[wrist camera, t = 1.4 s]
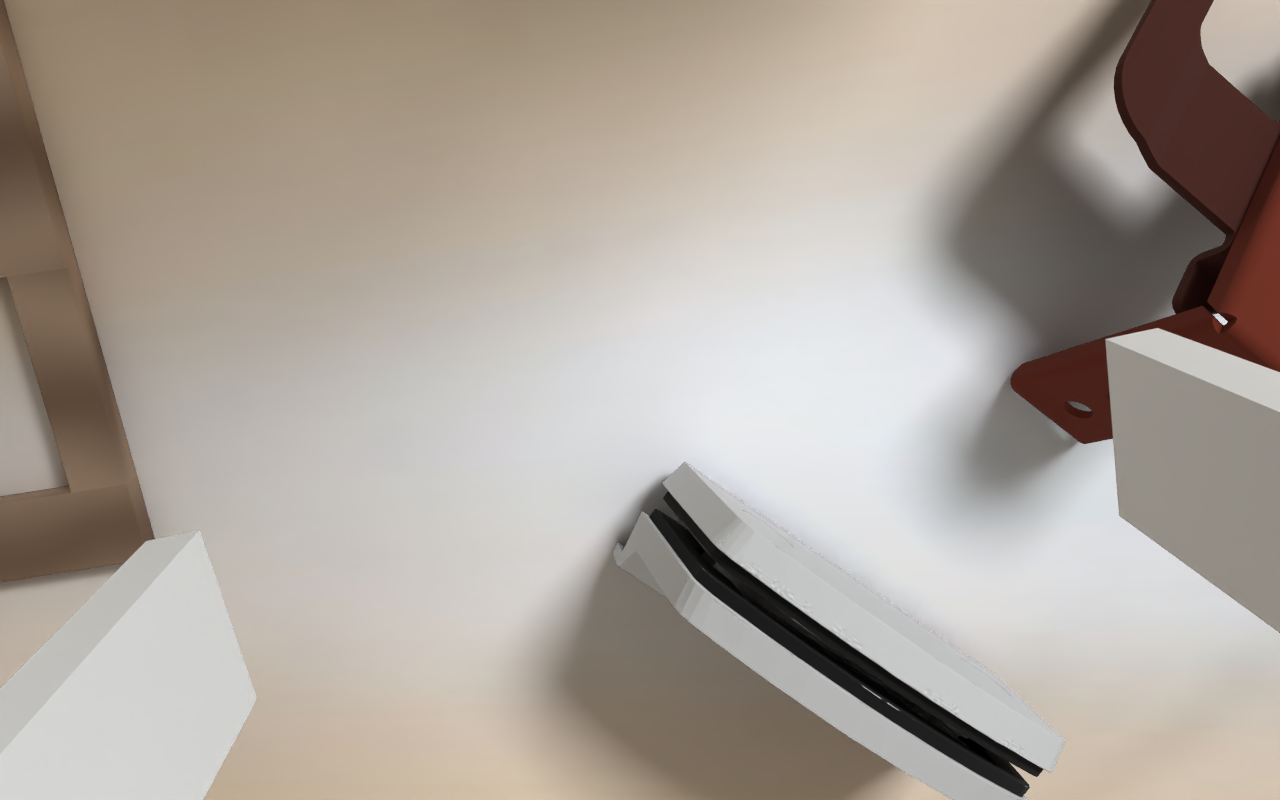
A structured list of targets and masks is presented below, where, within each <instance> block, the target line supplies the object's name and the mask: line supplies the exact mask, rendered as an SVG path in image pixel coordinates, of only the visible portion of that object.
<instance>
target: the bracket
mask: <svg viewBox="0 0 1280 800" xmlns="http://www.w3.org/2000/svg"><path fill="white" fill-rule="evenodd" d="M1213 1H1214V0H1151V2H1150V4H1149V6H1148V8H1147V9H1146V11H1145V13H1144V15H1143V17H1142V19H1141V21H1140V22H1139V24H1138V26H1137V28H1136V30H1135V32H1134V33H1133V35H1132V37H1131V39H1130V41H1129V43H1128V45H1127V46H1126V48H1125V50H1124V52H1123V54H1122V56H1121V57H1120V60H1119V62H1118V64H1117V67H1116V71H1115V76H1114V93H1115V101H1116V104H1117V108H1118V112H1119V114H1120V116H1121V119H1122V121H1123V123H1124V125H1125V127H1126V129H1127V130H1128V132H1129V134H1130V135H1131V136H1132V138H1133V139H1134V140H1135V142H1136V143H1137V145H1138V147H1139V150H1140V152H1141V154H1142V156H1143V158H1144V160H1145V161H1146V163H1147V165H1148V167H1149V168H1150V169H1151V170H1152V171H1153V172H1154V173H1155V174H1156V175H1158V176H1159V177H1160V178H1161V179H1162V180H1163V181H1165V182H1166V183H1167V184H1168V185H1169V186H1170V187H1172V188H1173V189H1174V190H1175V191H1176V192H1177V193H1178V194H1180V195H1181V196H1182V197H1183V198H1184V199H1185V200H1187V201H1188V202H1189V203H1190V204H1191V205H1192V206H1194V207H1195V208H1196V209H1197V210H1198V211H1199V212H1200V213H1202V214H1203V215H1204V216H1205V217H1206V218H1207V219H1209V220H1210V221H1211V222H1212V223H1213V224H1214V225H1216V226H1217V227H1218V228H1219V229H1220V230H1221V231H1222V232H1224V233H1225V235H1226V238H1225V241H1224V243H1223V245H1221V246H1219V247H1216V248H1214V249H1211V250H1209V251H1206V252H1203V253H1201V254H1199V255H1197V256H1196V257H1195V258H1193V259H1192V260H1191V262H1190V263H1189V265H1188V266H1187V269H1186V271H1185V273H1184V275H1183V277H1182V279H1181V281H1180V284H1179V286H1178V288H1177V290H1176V292H1175V294H1174V296H1173V299H1172V306H1173V309H1174V311H1175V313H1176V314H1175V315H1172V316H1169V317H1166V318H1163V319H1160V320H1157V321H1154V322H1151V323H1148V324H1144V325H1141V326H1138V327H1135V328H1132V329H1129V330H1126V331H1123V332H1120V333H1117V334H1113V335H1110V336H1107V337H1104V338H1101V339H1098V340H1095V341H1092V342H1089V343H1086V344H1082V345H1079V346H1076V347H1073V348H1070V349H1067V350H1064V351H1061V352H1058V353H1055V354H1051V355H1048V356H1045V357H1042V358H1039V359H1036V360H1033V361H1030V362H1027V363H1024V364H1022V365H1021V366H1020V367H1019V368H1018V369H1017V370H1016V371H1015V372H1014V374H1013V376H1012V378H1011V386H1012V388H1013V390H1014V391H1015V392H1017V393H1018V394H1019V395H1020V396H1022V397H1023V398H1024V399H1026V400H1027V401H1028V402H1029V403H1031V404H1032V405H1033V406H1034V407H1036V408H1037V409H1038V410H1040V411H1041V412H1042V413H1043V414H1045V415H1046V416H1047V417H1049V418H1050V419H1051V420H1052V421H1054V422H1055V423H1056V424H1057V425H1059V426H1060V427H1061V428H1063V429H1064V430H1065V431H1066V432H1068V433H1069V434H1070V435H1072V436H1073V437H1074V438H1075V439H1077V440H1078V441H1079V442H1081V443H1083V444H1087V443H1092V442H1097V441H1102V440H1108V439H1113V430H1112V418H1111V405H1110V392H1109V379H1108V366H1107V354H1106V341H1105V339H1108V338H1112V337H1117V336H1122V335H1127V334H1131V333H1136V332H1141V331H1146V330H1150V329H1155V328H1159V329H1162V330H1165V331H1167V332H1170V333H1173V334H1176V335H1178V336H1181V337H1184V338H1187V339H1189V340H1192V341H1195V342H1198V343H1200V344H1203V345H1206V346H1209V347H1211V348H1214V349H1217V350H1220V351H1222V352H1225V353H1228V354H1231V355H1233V356H1236V357H1239V358H1242V359H1244V360H1247V361H1250V362H1253V363H1255V364H1258V365H1261V366H1264V367H1266V368H1269V369H1272V370H1275V371H1277V372H1280V120H1279V122H1276V121H1274V120H1271V119H1270V118H1269V117H1267V116H1266V115H1265V114H1264V113H1263V112H1262V111H1261V110H1260V109H1259V108H1257V107H1256V106H1255V105H1254V104H1253V103H1252V102H1251V101H1250V100H1248V99H1247V98H1246V97H1245V96H1244V95H1243V94H1242V93H1241V92H1240V91H1238V90H1237V89H1236V88H1235V87H1234V86H1233V85H1232V84H1231V83H1229V82H1228V81H1227V80H1226V79H1225V78H1224V77H1223V76H1222V75H1221V74H1219V73H1218V72H1217V71H1216V70H1215V69H1214V68H1213V67H1212V66H1210V65H1209V63H1208V61H1207V59H1206V56H1205V54H1204V52H1203V49H1202V45H1201V37H1200V29H1201V25H1202V22H1203V20H1204V18H1205V16H1206V14H1207V12H1208V10H1209V8H1210V6H1211V5H1212V3H1213ZM1217 313H1219V314H1220V315H1221V316H1222V317H1224V318H1225V319H1226V320H1227V321H1228V323H1227V324H1226V325H1222V324H1221V323H1220V322H1219V321H1218V320H1217V319H1216V318H1215V317H1214V316H1213V315H1212V314H1217ZM1067 401H1076V402H1079V403H1082V404H1084V405H1086V406H1087V407H1089V408H1090V409H1091V411H1082V410H1079V409H1076V408H1074V407H1073V406H1071V405H1070V404H1069V403H1068V402H1067Z"/></svg>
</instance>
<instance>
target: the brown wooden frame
mask: <svg viewBox="0 0 1280 800" xmlns="http://www.w3.org/2000/svg"><path fill="white" fill-rule="evenodd" d="M4 277H7V280H8V284H9V287H10V290H11V294H12V297H13V300H14V304H15V307H16V310H17V314H18V317H19V320H20V324H21V327H22V330H23V334H24V337H25V340H26V344H27V347H28V350H29V354H30V357H31V360H32V364H33V367H34V370H35V374H36V377H37V380H38V384H39V387H40V390H41V394H42V397H43V400H44V404H45V407H46V410H47V414H48V417H49V420H50V424H51V427H52V430H53V434H54V437H55V440H56V444H57V447H58V450H59V454H60V457H61V460H62V464H63V467H64V470H65V474H66V477H67V480H68V484H69V486H66V487H59V488H53V489H46V490H40V491H33V492H27V493H21V494H14V495H8V496H1V497H0V582H6V581H13V580H19V579H25V578H32V577H38V576H44V575H51V574H57V573H63V572H70V571H76V570H82V569H89V568H95V567H101V566H108V565H114V564H120V563H125V562H126V561H127V560H128V559H129V558H130V557H131V556H132V555H133V554H134V553H135V552H136V551H137V550H138V549H139V548H140V547H141V546H142V545H143V544H144V543H145V542H146V541H149V540H154V539H155V538H154V535H153V531H152V528H151V524H150V521H149V517H148V513H147V510H146V506H145V503H144V499H143V496H142V492H141V489H140V485H139V481H138V478H137V474H136V471H135V467H134V464H133V460H132V457H131V453H130V449H129V446H128V442H127V439H126V435H125V432H124V428H123V425H122V421H121V417H120V414H119V410H118V407H117V403H116V400H115V396H114V393H113V389H112V385H111V382H110V378H109V375H108V371H107V368H106V364H105V361H104V357H103V354H102V350H101V346H100V343H99V339H98V336H97V332H96V329H95V325H94V322H93V318H92V314H91V311H90V307H89V304H88V300H87V297H86V293H85V290H84V286H83V282H82V279H81V275H80V272H79V268H78V265H77V261H76V258H75V254H74V250H73V247H72V243H71V240H70V236H69V233H68V229H67V226H66V222H65V218H64V215H63V211H62V208H61V204H60V201H59V197H58V194H57V190H56V186H55V183H54V179H53V176H52V172H51V169H50V165H49V162H48V158H47V154H46V151H45V147H44V144H43V140H42V137H41V133H40V130H39V126H38V122H37V119H36V115H35V112H34V108H33V105H32V101H31V98H30V94H29V90H28V87H27V83H26V80H25V76H24V73H23V69H22V66H21V62H20V58H19V55H18V51H17V48H16V44H15V41H14V37H13V34H12V30H11V26H10V23H9V19H8V16H7V12H6V9H5V5H4V2H3V0H0V278H4Z"/></svg>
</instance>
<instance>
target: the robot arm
mask: <svg viewBox="0 0 1280 800" xmlns="http://www.w3.org/2000/svg"><path fill="white" fill-rule="evenodd" d="M1105 341H1106V354H1107V366H1108V379H1109V392H1110V405H1111V418H1112V430H1113V443H1114V456H1115V469H1116V482H1117V494H1118V507H1119V516H1120V517H1122V518H1123V519H1124V520H1126V521H1127V522H1129V523H1130V524H1131V525H1133V526H1134V527H1135V528H1137V529H1138V530H1139V531H1141V532H1142V533H1144V534H1145V535H1146V536H1148V537H1149V538H1150V539H1152V540H1153V541H1155V542H1156V543H1157V544H1159V545H1160V546H1161V547H1163V548H1164V549H1165V550H1167V551H1168V552H1170V553H1171V554H1172V555H1174V556H1175V557H1176V558H1178V559H1179V560H1181V561H1182V562H1183V563H1185V564H1186V565H1187V566H1189V567H1190V568H1192V569H1193V570H1194V571H1196V572H1197V573H1198V574H1200V575H1201V576H1202V577H1204V578H1205V579H1207V580H1208V581H1209V582H1211V583H1212V584H1213V585H1215V586H1216V587H1218V588H1219V589H1220V590H1222V591H1223V592H1224V593H1226V594H1227V595H1229V596H1230V597H1231V598H1233V599H1234V600H1235V601H1237V602H1238V603H1239V604H1241V605H1242V606H1244V607H1245V608H1246V609H1248V610H1249V611H1250V612H1252V613H1253V614H1255V615H1256V616H1257V617H1259V618H1260V619H1261V620H1263V621H1264V622H1266V623H1267V624H1268V625H1270V626H1271V627H1272V628H1274V629H1275V630H1276V631H1278V632H1279V633H1280V372H1277V371H1275V370H1272V369H1269V368H1266V367H1264V366H1261V365H1258V364H1255V363H1253V362H1250V361H1247V360H1244V359H1242V358H1239V357H1236V356H1233V355H1231V354H1228V353H1225V352H1222V351H1220V350H1217V349H1214V348H1211V347H1209V346H1206V345H1203V344H1200V343H1198V342H1195V341H1192V340H1189V339H1187V338H1184V337H1181V336H1178V335H1176V334H1173V333H1170V332H1167V331H1165V330H1162V329H1159V328H1155V329H1150V330H1146V331H1141V332H1136V333H1131V334H1127V335H1122V336H1117V337H1112V338H1108V339H1105ZM256 700H257V697H256V694H255V691H254V688H253V686H252V683H251V680H250V677H249V674H248V671H247V668H246V665H245V662H244V659H243V656H242V653H241V650H240V647H239V644H238V641H237V639H236V636H235V633H234V630H233V627H232V624H231V621H230V618H229V615H228V612H227V609H226V606H225V603H224V600H223V597H222V594H221V592H220V589H219V586H218V583H217V580H216V577H215V574H214V571H213V568H212V565H211V562H210V559H209V556H208V553H207V550H206V547H205V545H204V542H203V539H202V536H201V533H200V530H196V531H192V532H187V533H182V534H177V535H173V536H168V537H163V538H158V539H154V540H149V541H146V542H145V543H144V544H143V545H142V546H141V547H140V548H139V549H138V550H137V551H136V552H135V553H134V554H133V555H132V556H131V557H130V558H129V559H128V560H127V561H126V562H125V563H124V564H123V565H122V566H121V567H120V568H119V569H118V570H117V571H116V572H115V573H114V574H113V575H112V576H111V577H110V578H109V579H108V580H107V581H106V582H105V583H104V584H103V585H102V586H101V587H100V588H99V589H98V590H97V591H96V592H95V593H94V594H93V595H92V596H91V597H90V598H89V599H88V600H87V601H86V602H85V603H84V604H83V605H82V606H81V607H80V608H79V609H78V610H77V611H76V612H75V613H74V614H73V616H72V617H71V618H70V619H69V620H68V621H67V622H66V623H65V624H64V625H63V626H62V627H61V628H60V629H59V630H58V631H57V632H56V633H55V634H54V635H53V636H52V637H51V638H50V639H49V640H48V641H47V642H46V643H45V644H44V645H43V646H42V647H41V648H40V649H39V650H38V651H37V652H36V653H35V654H34V655H33V656H32V657H31V658H30V659H29V660H28V661H27V662H26V663H25V664H24V665H23V666H22V667H21V668H20V669H19V670H18V671H17V672H16V673H15V674H14V675H13V676H12V677H11V678H10V679H9V680H8V681H7V682H6V683H5V684H4V685H3V686H2V687H1V688H0V800H203V799H204V797H205V796H206V794H207V792H208V790H209V788H210V786H211V784H212V782H213V781H214V779H215V777H216V775H217V773H218V771H219V769H220V767H221V766H222V764H223V762H224V760H225V758H226V756H227V754H228V752H229V751H230V749H231V747H232V745H233V743H234V741H235V739H236V737H237V736H238V734H239V732H240V730H241V728H242V726H243V724H244V722H245V721H246V719H247V717H248V715H249V713H250V711H251V709H252V707H253V706H254V704H255V702H256Z"/></svg>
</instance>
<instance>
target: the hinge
mask: <svg viewBox="0 0 1280 800" xmlns="http://www.w3.org/2000/svg"><path fill="white" fill-rule="evenodd" d="M662 484H663V485H664V487H665V488H666V489H667V490H668V492H667V493H666V495H665V496H664V498H663V499H664V500H665V502H666V503H667V504H668V505H669V507H670V508H671V509H672V510H673V511H674V513H675V514H676V515H677V516H678V517H679V519H680V520H681V521H682V522H683V524H684V525H685V526H686V527H687V528H688V530H687V529H686V528H685V527H683V526H682V525H680V524H679V523H677V522H676V521H674V520H673V519H671V518H670V517H668V516H667V515H665V514H664V513H662V512H661V511H659V510H658V509H655V510H654V511H653V513H652V514H651V516H649V515H647V514H646V513H644V512H643V511H642V512H641V514H640V516H639V518H638V520H637V522H636V524H635V526H634V529H633V531H632V533H631V535H630V537H629V539H628V541H627V543H626V545H625V547H624V546H623V545H621V544H620V543H618V542H617V544H616V546H615V548H614V550H613V552H612V553H613V556H614V559H615V561H616V564H617V566H619V567H620V568H622V569H623V570H625V571H626V572H628V573H629V574H631V575H632V576H634V577H636V578H637V579H639V580H640V581H642V582H643V583H645V584H646V585H648V586H649V587H651V588H652V589H654V590H656V591H657V592H659V593H660V594H662V595H663V596H665V597H666V598H668V600H669V602H670V603H671V605H672V606H673V607H674V608H675V609H676V610H677V612H678V613H679V614H680V615H681V616H683V617H684V618H685V619H686V620H687V621H688V622H689V623H691V624H692V625H693V626H694V627H696V628H697V629H698V630H700V631H701V632H702V633H704V634H705V635H706V636H708V637H709V638H710V639H712V640H713V641H714V642H716V643H717V644H718V645H720V646H721V647H722V648H724V649H725V650H726V651H728V652H729V653H730V654H732V655H733V656H734V657H736V658H737V659H739V660H740V661H741V662H743V663H744V664H745V665H747V666H748V667H749V668H751V669H752V670H754V671H755V672H756V673H758V674H759V675H760V676H762V677H763V678H765V679H766V680H767V681H769V682H770V683H772V684H773V685H774V686H776V687H777V688H779V689H780V690H782V691H783V692H784V693H786V694H787V695H789V696H790V697H792V698H793V699H795V700H796V701H797V702H799V703H800V704H802V705H803V706H805V707H806V708H808V709H809V710H810V711H812V712H813V713H815V714H816V715H818V716H819V717H820V718H822V719H823V720H825V721H826V722H828V723H829V724H831V725H832V726H834V727H835V728H837V729H838V730H840V731H841V732H843V733H844V734H846V735H847V736H849V737H850V738H852V739H853V740H855V741H856V742H858V743H859V744H861V745H863V746H864V747H866V748H867V749H869V750H871V751H872V752H874V753H875V754H877V755H878V756H880V757H882V758H883V759H885V760H886V761H888V762H890V763H891V764H893V765H894V766H896V767H897V768H899V769H901V770H902V771H904V772H905V773H907V774H909V775H910V776H912V777H914V778H916V779H917V780H919V781H921V782H923V783H924V784H926V785H928V786H929V787H931V788H933V789H935V790H936V791H938V792H940V793H942V794H943V795H945V796H947V797H948V798H950V799H952V800H1028V799H1027V797H1026V796H1025V795H1024V794H1025V793H1026V792H1027V790H1028V789H1029V788H1030V787H1029V784H1028V783H1027V782H1026V781H1025V780H1024V779H1023V778H1022V776H1021V775H1020V774H1019V773H1018V772H1017V771H1016V770H1015V768H1014V767H1013V766H1012V765H1011V764H1010V763H1012V764H1014V765H1015V766H1017V767H1019V768H1021V769H1022V770H1024V771H1026V772H1028V773H1030V774H1032V775H1034V776H1036V777H1037V776H1039V774H1040V773H1041V772H1042V770H1043V769H1044V770H1046V771H1048V772H1052V771H1053V768H1054V766H1055V764H1056V762H1057V759H1058V757H1059V755H1060V752H1061V750H1062V748H1063V746H1064V743H1065V739H1064V738H1063V737H1062V736H1060V735H1059V734H1058V733H1057V732H1056V731H1055V730H1054V729H1053V728H1052V727H1051V726H1050V725H1049V724H1048V723H1047V722H1046V721H1045V720H1044V719H1042V718H1041V717H1040V716H1039V715H1038V714H1037V713H1036V712H1035V711H1034V710H1033V709H1032V708H1031V707H1030V706H1029V705H1028V704H1027V703H1026V702H1024V701H1023V700H1022V699H1021V698H1020V697H1019V696H1018V695H1017V694H1016V693H1015V692H1014V691H1013V690H1012V689H1011V688H1010V687H1009V686H1008V685H1007V684H1005V683H1004V682H1003V681H1002V680H1001V679H1000V678H999V677H998V676H997V675H995V674H994V673H992V672H991V671H989V670H988V669H986V668H985V667H983V666H982V665H980V664H979V663H978V662H976V661H975V660H973V659H972V658H970V657H969V656H967V655H966V654H964V653H963V652H961V651H960V650H959V649H957V648H956V647H954V646H953V645H951V644H950V643H948V642H947V641H945V640H944V639H943V638H941V637H940V636H938V635H937V634H935V633H934V632H932V631H931V630H929V629H928V628H926V627H925V626H924V625H922V624H921V623H919V622H918V621H916V620H915V619H913V618H912V617H910V616H909V615H908V614H906V613H905V612H903V611H902V610H900V609H899V608H897V607H896V606H894V605H893V604H891V603H890V602H889V601H887V600H886V599H884V598H883V597H881V596H880V595H878V594H877V593H875V592H874V591H872V590H871V589H870V588H868V587H867V586H865V585H864V584H862V583H861V582H859V581H858V580H856V579H855V578H854V577H852V576H851V575H849V574H848V573H846V572H845V571H843V570H842V569H840V568H839V567H837V566H836V565H835V564H833V563H832V562H830V561H829V560H827V559H826V558H824V557H823V556H821V555H820V554H819V553H817V552H816V551H814V550H813V549H811V548H810V547H808V546H807V545H805V544H804V543H802V542H801V541H800V540H798V539H797V538H795V537H794V536H792V535H791V534H789V533H788V532H786V531H785V530H783V529H782V528H781V527H779V526H778V525H776V524H775V523H773V522H772V521H770V520H769V519H767V518H766V517H765V516H763V515H762V514H760V513H759V512H757V511H756V510H754V509H753V508H751V507H750V506H748V505H747V504H746V503H744V502H743V501H741V500H740V499H738V498H737V497H735V496H734V495H732V494H731V493H729V492H728V491H727V490H725V489H724V488H722V487H721V486H719V485H718V484H716V483H715V482H713V481H712V480H711V479H709V478H708V477H706V476H705V475H703V474H702V473H700V472H699V471H697V470H696V469H694V468H693V467H692V466H690V465H689V464H687V463H686V462H684V463H683V464H682V465H681V466H680V467H679V468H678V469H677V470H675V471H674V472H673V473H672V474H671V475H670V476H669V477H668V478H667V479H666V480H665V481H663V482H662ZM1009 762H1010V763H1009Z"/></svg>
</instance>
